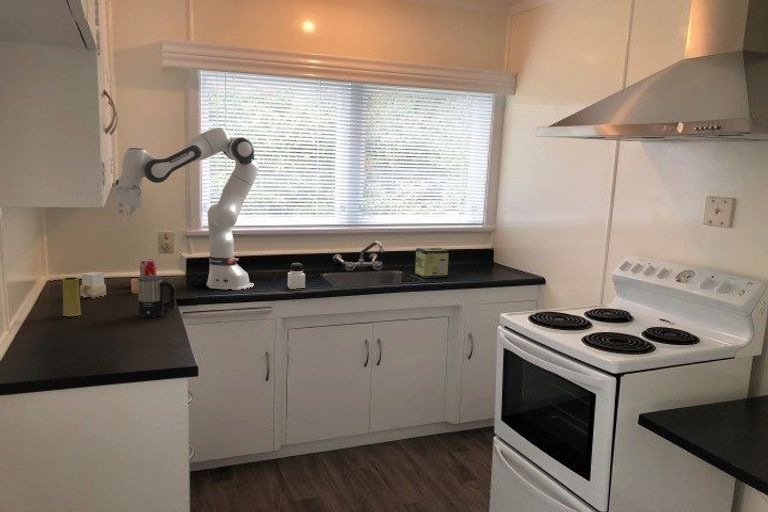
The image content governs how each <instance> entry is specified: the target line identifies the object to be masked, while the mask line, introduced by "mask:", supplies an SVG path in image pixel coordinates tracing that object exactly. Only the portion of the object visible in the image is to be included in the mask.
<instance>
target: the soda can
mask: <svg viewBox="0 0 768 512" xmlns="http://www.w3.org/2000/svg"><path fill="white" fill-rule="evenodd" d="M139 265H140V266H139V272H140V273H139V275H140V276H139V277H142V276H157V263H156V261H155V259H153V258H145V259H141V261H140V264H139Z"/></svg>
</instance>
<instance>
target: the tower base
mask: <svg viewBox="0 0 768 512" xmlns="http://www.w3.org/2000/svg"><path fill="white" fill-rule="evenodd" d="M79 295H80V297H81V296H83V297H82V298H86V297H91V298H90V299H92V298H94V299H96V298H95V297H98V298H100V297H99V296H102V297H105V296H104V295H106V296H107V284H106V283H104V285H100V286H95V287H89V286H82V284H81V285H79Z"/></svg>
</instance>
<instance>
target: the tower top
mask: <svg viewBox="0 0 768 512" xmlns="http://www.w3.org/2000/svg"><path fill="white" fill-rule="evenodd" d="M104 284H105V273H104V272H99V271H98V272H97V271H90V272H84V273H82V274H81V285H82V286H89V287H95V286H100V285H104Z"/></svg>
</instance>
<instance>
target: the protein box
mask: <svg viewBox="0 0 768 512" xmlns="http://www.w3.org/2000/svg"><path fill="white" fill-rule="evenodd" d="M449 253H450V251H449V250H448V249H445V248H442V247H424V248H423V247H422V248H420V247H418V248H417V247H416V251H415V267H414V268H415V270H414V272H415V273H414V275H415V276H416V275H418V276H421V277H430V276H444V275H447V276H448V272H449V271H448V269H449ZM418 276H417V277H418ZM421 277H420V278H421Z"/></svg>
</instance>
